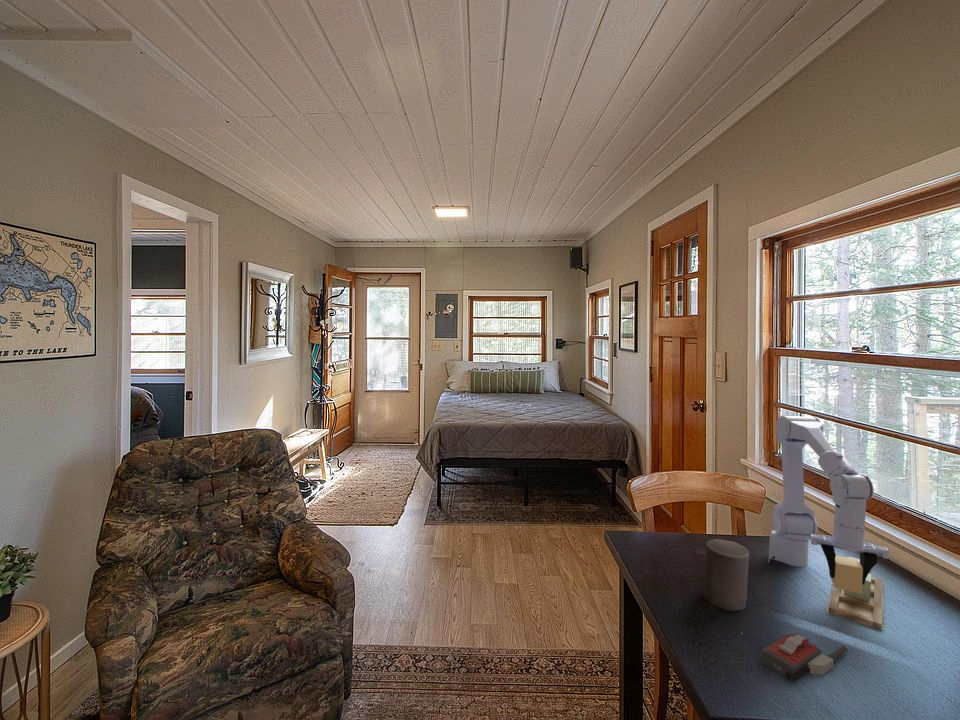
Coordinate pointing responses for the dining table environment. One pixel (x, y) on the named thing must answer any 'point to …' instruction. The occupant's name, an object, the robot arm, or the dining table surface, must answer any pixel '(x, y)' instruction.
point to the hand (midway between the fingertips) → (846, 579)
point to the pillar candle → (726, 574)
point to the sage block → (865, 590)
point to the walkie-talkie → (798, 657)
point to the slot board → (859, 605)
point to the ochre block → (848, 574)
